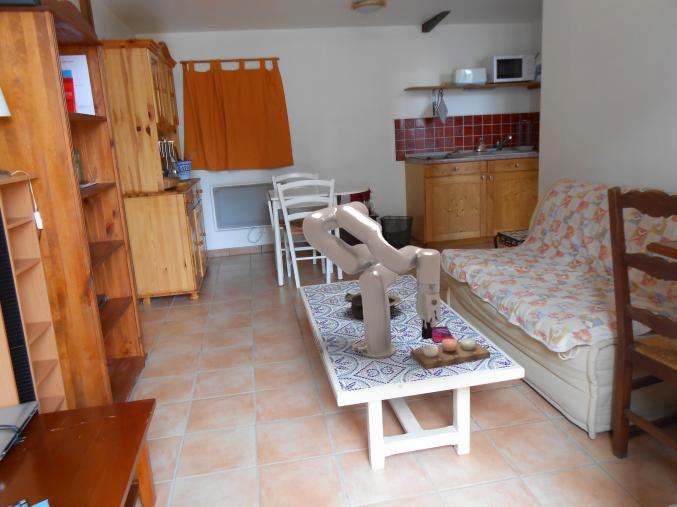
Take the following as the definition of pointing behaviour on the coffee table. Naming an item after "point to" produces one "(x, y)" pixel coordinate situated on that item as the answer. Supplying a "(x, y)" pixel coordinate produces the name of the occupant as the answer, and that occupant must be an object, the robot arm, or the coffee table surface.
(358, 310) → the stone bowl
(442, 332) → the smartphone
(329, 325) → the coffee table surface
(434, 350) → the off-white button
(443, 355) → the button board
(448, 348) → the terracotta button
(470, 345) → the sage button
